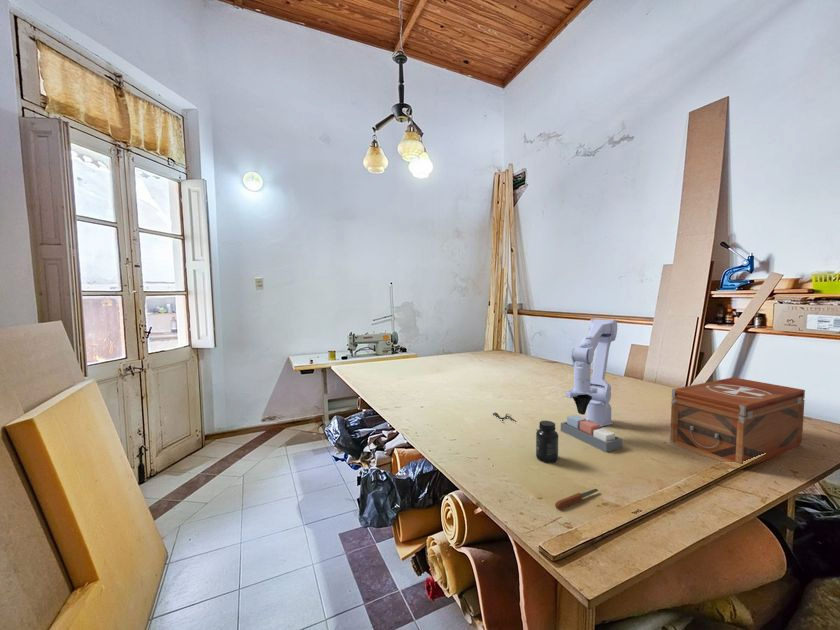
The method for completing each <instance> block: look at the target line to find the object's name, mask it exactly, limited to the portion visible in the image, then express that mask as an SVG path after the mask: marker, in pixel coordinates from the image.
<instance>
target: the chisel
mask: <svg viewBox="0 0 840 630" xmlns="http://www.w3.org/2000/svg"><path fill="white" fill-rule="evenodd" d="M598 491H599V489H598V488H594V489H590V490H588V491H584V492H577V493H575V494H572V495H569V496H567V497H565V498H562V499H560V500H558V501H556V502H555V503H554V505H555V506H554V507H555V508H556V509H557V510H564V509H566V508H568V507H570V506H572V505H574V504H577V503H581V502H583V499H584V498H587V497H588V496H590V495H592V494H594V493H596V492H598Z"/></svg>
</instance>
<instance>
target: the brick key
mask: <svg viewBox="0 0 840 630" xmlns="http://www.w3.org/2000/svg"><path fill="white" fill-rule="evenodd" d="M597 429H601V427H600V424H598V423H595V422H593V421H590V420H586V421H581V422H580V430H582V431H584V432H586V433H589V434H593V432H594V430H597Z"/></svg>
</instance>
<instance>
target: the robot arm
mask: <svg viewBox="0 0 840 630" xmlns="http://www.w3.org/2000/svg"><path fill="white" fill-rule="evenodd" d="M588 330H589V332H588V335H586V336H584V337H583V338H582V340H581V341H580V342H579V344H578V346H576V347H574V348H572V351H571V361H572V367H573V388H571V389H570V390H568V391H565V397H566V398H569V399H572V400H573V401H574V404H575V406H576V409H577V413H578V414H579V415H582V416H583V415H585V419H586V420H590V421H593V422H595V423H598V424H600V428H602V427H604V426H610V425H614V422H613V421H612V407H611V404H610V402H611V398H612V397H611V396H612V387H611V385H610V383H609V382H607V381H606V373H607V367H608V366H607V365H608V359H609V354H610V353H609V352H610V348H611V343H612V342H614V341H616V338H617V334H618V322H617V320H616V319H603V318H601V319H600V318H591V319H590V320H589V322H588ZM595 350H596V351H595ZM594 356H595V357H594ZM593 361H594V362H593ZM592 362H593V369H592V371H591V367H592ZM591 373H592V375H591Z"/></svg>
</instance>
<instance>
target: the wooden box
mask: <svg viewBox="0 0 840 630" xmlns="http://www.w3.org/2000/svg"><path fill="white" fill-rule="evenodd" d="M805 393H806V389H802V388H797V387H790V386H784V385H780V384H779V385H778V384H773V383H767V382H761V381H757V380H751V379H744V378H740V377H739V378H738V377H733V376H732V377H728V378H724V379H718V380H717V379H716V380H714V381H708V382H702V383H697V384H693V385H688V386H682V387H678V388H673V389H671V405H670V406H671V411H670V412H671V414H670V418H671V419H670V435H669V436H670V439H669V440H670V441H669V444H670V445H672V446H675V447H678V448H681V449H683V450H686V451H689V452H691V453H694V454H697V455H700V456H702V457H705V458H708V459H710V458H711V460H713V459H714V461H715V460H717V461H716V462H718V461H720V462H719V463H721V462H736V463H739V464H743V461H746V460H748V459H751V458H753V457H756V456H758V455H761V454H764V453H766V454H765V456H764V457H762V458H761V459H760V460H758V461H756V462H755V463H753V464H755V465H757V464H760V463H762V462H764V461H767V460H768V459H769V460H770V459H771V458H775V457H776V456H779V455H781V454H784V453H786V452H788V451H792V450H794V449H796V448H798V447H801V446H803V435H804V433H803V432H804V431H803V430H804V414H805V401H806V400H805ZM759 462H760V463H759ZM756 463H757V464H756Z"/></svg>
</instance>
